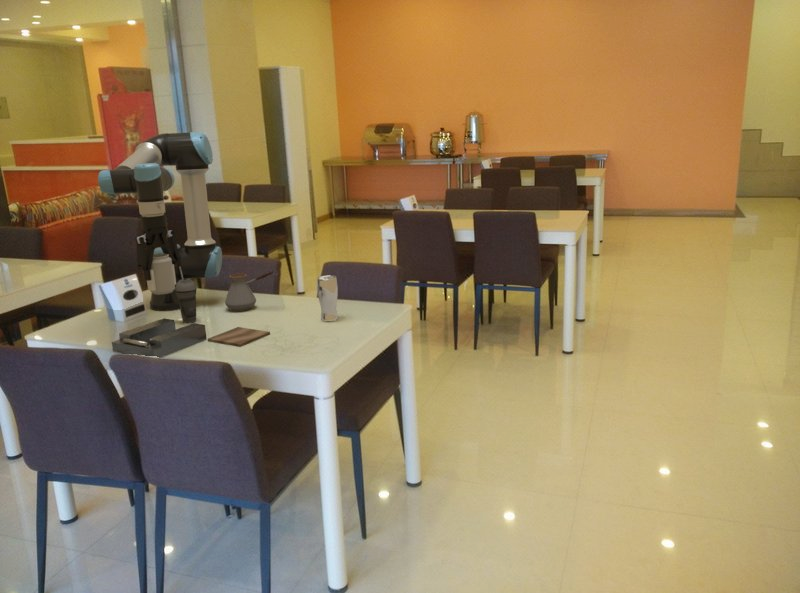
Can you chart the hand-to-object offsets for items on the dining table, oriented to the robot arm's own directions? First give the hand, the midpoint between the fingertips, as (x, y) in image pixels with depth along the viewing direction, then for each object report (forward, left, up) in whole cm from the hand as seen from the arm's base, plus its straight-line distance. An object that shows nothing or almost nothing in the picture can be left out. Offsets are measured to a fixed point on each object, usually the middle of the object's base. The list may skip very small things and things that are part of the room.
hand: (162, 287), depth 219 cm
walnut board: (+18, +13, -18) cm, 29 cm away
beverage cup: (-12, +20, -18) cm, 30 cm away
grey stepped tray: (0, -4, -18) cm, 19 cm away
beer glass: (+33, +42, -18) cm, 56 cm away
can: (0, 0, -2) cm, 2 cm away
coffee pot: (-2, +42, -18) cm, 46 cm away
